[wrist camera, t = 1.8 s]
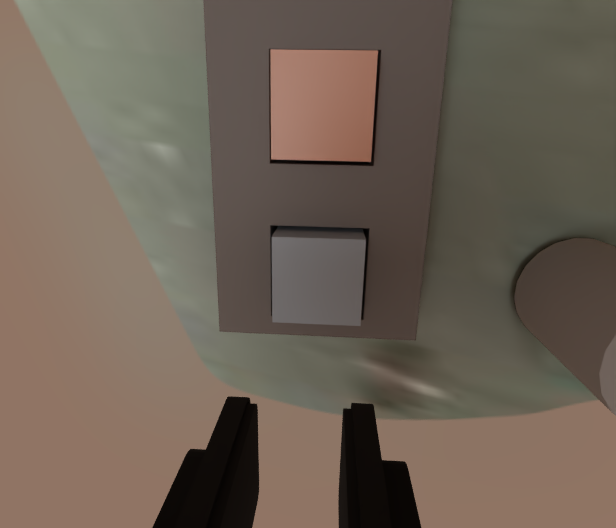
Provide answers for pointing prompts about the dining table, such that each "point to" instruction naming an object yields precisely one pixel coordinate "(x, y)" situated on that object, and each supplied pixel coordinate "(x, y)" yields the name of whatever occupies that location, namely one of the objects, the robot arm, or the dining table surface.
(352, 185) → the key panel
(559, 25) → the dining table surface
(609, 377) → the can
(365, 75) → the terracotta key
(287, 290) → the slate key
